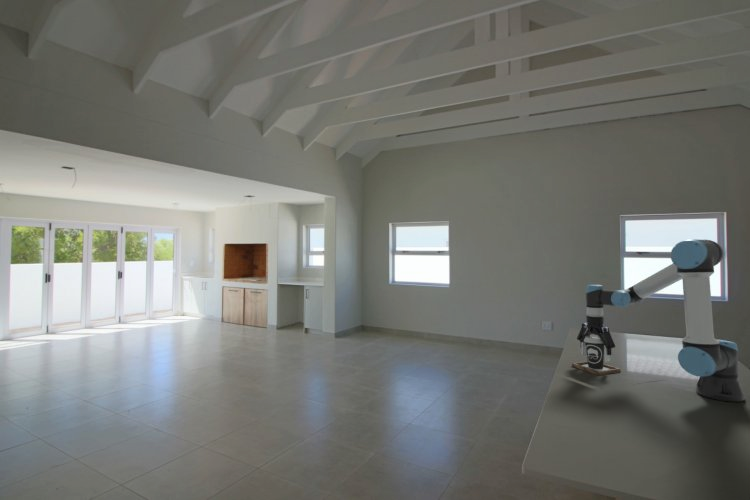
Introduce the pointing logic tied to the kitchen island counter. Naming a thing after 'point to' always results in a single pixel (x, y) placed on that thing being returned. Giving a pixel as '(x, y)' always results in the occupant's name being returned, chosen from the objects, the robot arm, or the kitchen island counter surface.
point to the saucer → (597, 369)
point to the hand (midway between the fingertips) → (595, 358)
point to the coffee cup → (594, 351)
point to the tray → (612, 370)
